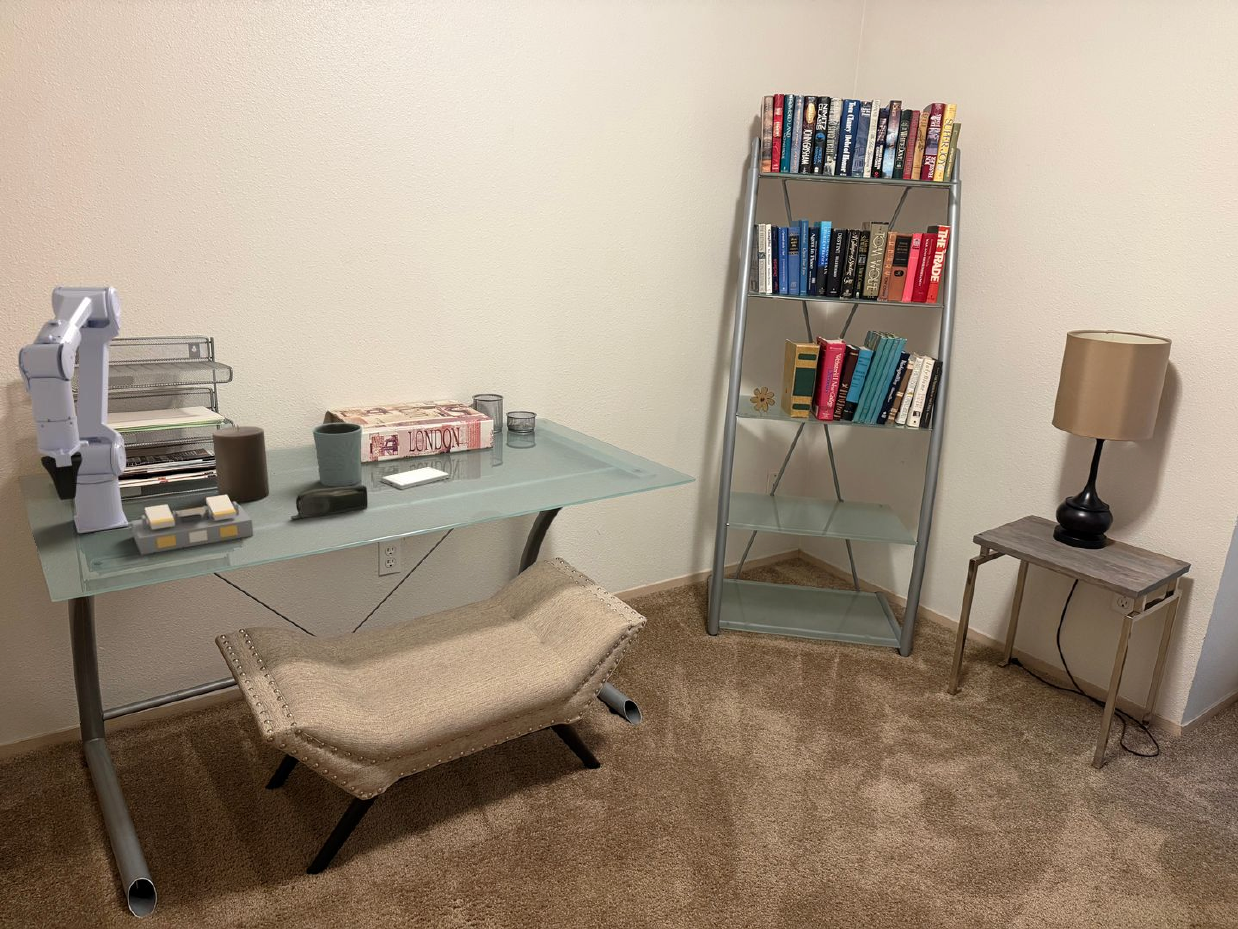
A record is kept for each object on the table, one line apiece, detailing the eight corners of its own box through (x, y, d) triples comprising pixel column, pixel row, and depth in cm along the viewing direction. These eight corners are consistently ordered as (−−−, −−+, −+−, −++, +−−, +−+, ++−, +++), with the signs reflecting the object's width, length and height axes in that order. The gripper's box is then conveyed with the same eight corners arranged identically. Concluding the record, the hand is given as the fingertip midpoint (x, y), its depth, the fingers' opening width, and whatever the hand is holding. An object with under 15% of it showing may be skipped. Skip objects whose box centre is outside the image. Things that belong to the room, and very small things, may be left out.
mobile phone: (364, 482, 174) (287, 492, 165) (369, 486, 172) (291, 496, 163) (364, 506, 175) (288, 517, 167) (370, 510, 173) (292, 521, 164)
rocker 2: (177, 516, 156) (176, 510, 156) (199, 513, 158) (198, 507, 158) (183, 516, 150) (182, 510, 150) (205, 512, 152) (204, 506, 152)
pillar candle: (265, 501, 175) (259, 429, 171) (213, 503, 173) (206, 430, 169) (272, 487, 184) (267, 418, 180) (223, 489, 182) (216, 420, 178)
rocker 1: (145, 512, 153) (144, 507, 153) (167, 509, 155) (167, 503, 155) (151, 529, 148) (151, 523, 148) (175, 525, 150) (174, 520, 150)
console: (133, 536, 154) (129, 510, 153) (240, 519, 164) (238, 494, 163) (141, 555, 146) (137, 527, 145) (253, 535, 157) (251, 509, 155)
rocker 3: (206, 502, 159) (205, 497, 158) (227, 499, 161) (227, 494, 160) (214, 520, 154) (214, 515, 153) (236, 517, 156) (236, 512, 155)
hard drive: (427, 466, 199) (380, 476, 190) (449, 473, 194) (401, 484, 185) (428, 473, 199) (380, 483, 191) (449, 480, 194) (401, 491, 185)
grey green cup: (357, 472, 196) (354, 420, 193) (370, 484, 188) (367, 430, 185) (311, 478, 191) (307, 425, 188) (322, 490, 183) (318, 435, 180)
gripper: (88, 424, 136) (100, 506, 140) (80, 407, 148) (91, 483, 151) (34, 429, 132) (48, 513, 136) (30, 411, 144) (43, 489, 147)
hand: (67, 498), depth 144 cm, fingers closed
